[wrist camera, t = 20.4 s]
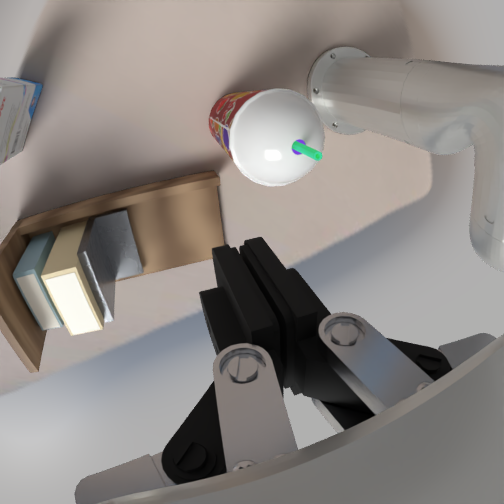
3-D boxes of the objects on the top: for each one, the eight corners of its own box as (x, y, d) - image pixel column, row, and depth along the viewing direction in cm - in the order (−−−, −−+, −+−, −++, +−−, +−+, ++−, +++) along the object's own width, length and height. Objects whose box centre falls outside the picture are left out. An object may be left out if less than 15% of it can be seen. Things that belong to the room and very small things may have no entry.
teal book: (52, 230, 34) (33, 269, 27) (72, 282, 38) (62, 326, 31) (33, 236, 33) (12, 275, 26) (54, 287, 38) (42, 331, 30)
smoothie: (200, 154, 37) (254, 221, 20) (200, 86, 33) (258, 88, 16) (265, 151, 39) (359, 210, 23) (268, 86, 35) (374, 99, 19)
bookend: (126, 207, 36) (123, 242, 29) (143, 269, 41) (147, 312, 33) (88, 217, 35) (76, 254, 28) (108, 278, 40) (105, 322, 32)
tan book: (89, 219, 35) (75, 267, 26) (107, 273, 40) (103, 329, 31) (61, 227, 34) (40, 276, 25) (81, 279, 39) (71, 336, 30)
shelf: (213, 170, 38) (251, 216, 26) (224, 253, 45) (259, 321, 33) (17, 220, 32) (-26, 286, 20) (48, 295, 39) (29, 372, 27)
